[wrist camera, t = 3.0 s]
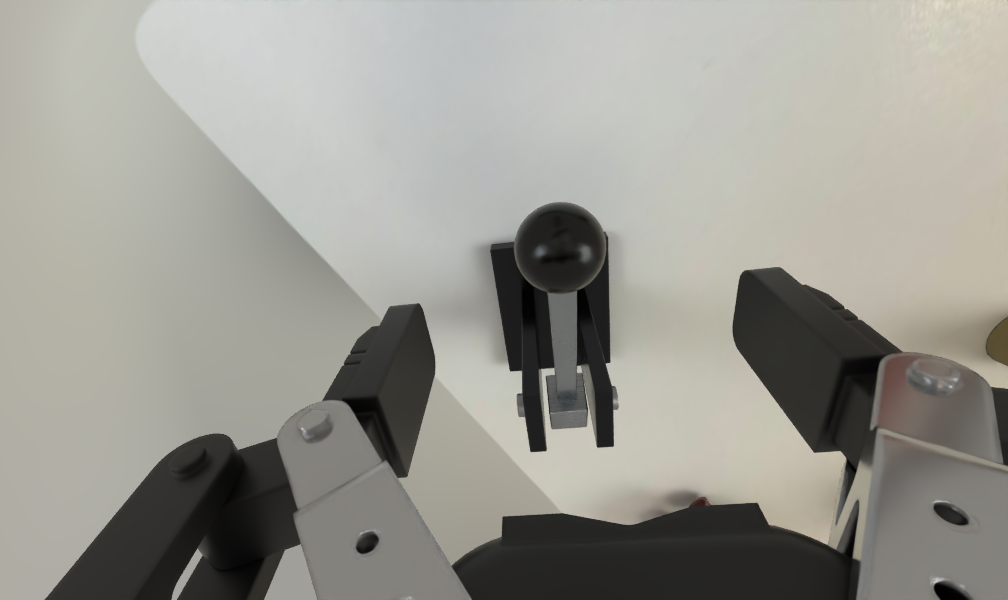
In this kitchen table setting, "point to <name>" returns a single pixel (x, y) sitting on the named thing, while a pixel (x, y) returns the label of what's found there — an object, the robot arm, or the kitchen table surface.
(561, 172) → the kitchen table surface
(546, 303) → the bracket
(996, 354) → the olive game pawn
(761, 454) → the kitchen table surface
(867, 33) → the kitchen table surface
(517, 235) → the lever
